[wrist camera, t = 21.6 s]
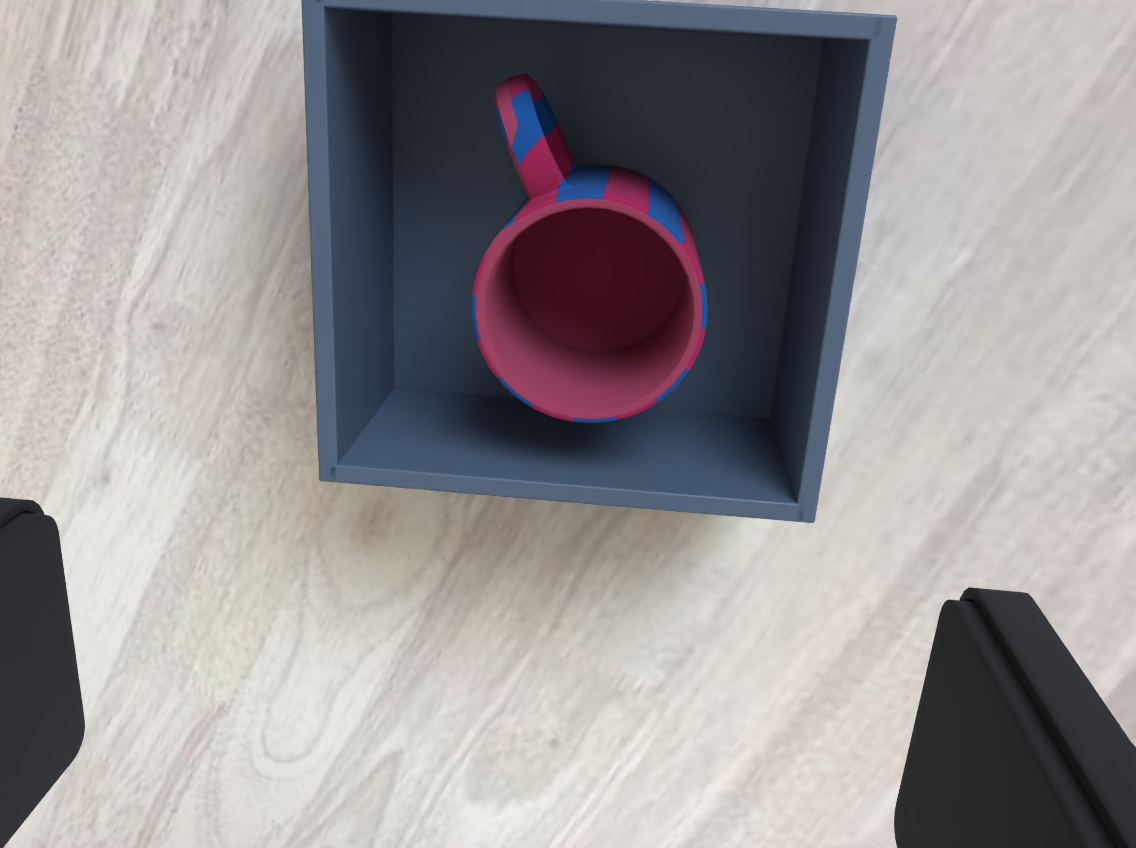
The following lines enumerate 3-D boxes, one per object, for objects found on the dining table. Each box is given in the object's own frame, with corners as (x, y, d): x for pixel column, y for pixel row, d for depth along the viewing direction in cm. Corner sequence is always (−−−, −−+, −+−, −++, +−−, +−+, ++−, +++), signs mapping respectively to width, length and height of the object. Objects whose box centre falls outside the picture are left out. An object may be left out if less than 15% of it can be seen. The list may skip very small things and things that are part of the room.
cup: (532, 374, 36) (507, 444, 30) (453, 93, 33) (406, 105, 27) (714, 332, 35) (728, 396, 29) (651, 38, 32) (651, 37, 26)
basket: (318, 481, 30) (814, 523, 30) (299, -20, 25) (898, 15, 25) (384, 394, 38) (781, 426, 37) (379, -6, 33) (840, 21, 32)
